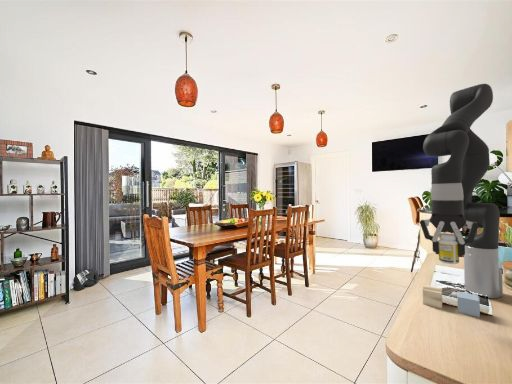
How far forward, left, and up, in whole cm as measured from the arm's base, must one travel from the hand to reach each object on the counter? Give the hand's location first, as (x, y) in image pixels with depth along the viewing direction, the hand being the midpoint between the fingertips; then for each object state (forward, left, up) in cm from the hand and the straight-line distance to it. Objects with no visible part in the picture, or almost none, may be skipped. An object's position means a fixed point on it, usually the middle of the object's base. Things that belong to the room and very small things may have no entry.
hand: (448, 254), depth 70 cm
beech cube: (-1, -9, -19) cm, 21 cm away
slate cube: (-8, -4, -19) cm, 21 cm away
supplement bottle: (0, 0, -2) cm, 2 cm away
